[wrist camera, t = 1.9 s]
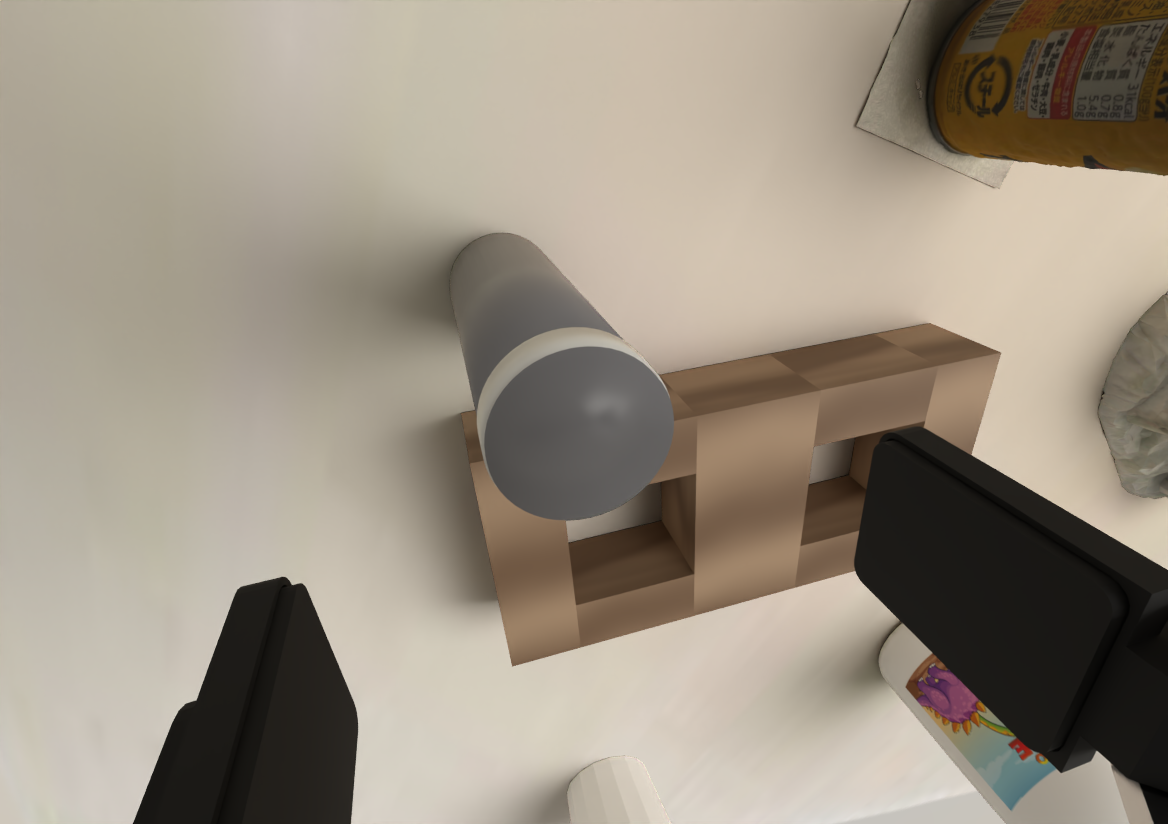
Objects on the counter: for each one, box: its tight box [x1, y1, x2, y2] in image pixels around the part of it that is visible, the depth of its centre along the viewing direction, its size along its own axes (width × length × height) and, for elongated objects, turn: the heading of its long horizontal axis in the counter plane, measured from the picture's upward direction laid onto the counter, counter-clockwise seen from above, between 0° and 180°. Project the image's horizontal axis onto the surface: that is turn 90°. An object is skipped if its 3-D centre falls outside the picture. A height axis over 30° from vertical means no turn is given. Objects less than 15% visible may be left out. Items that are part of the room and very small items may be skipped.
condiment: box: [857, 0, 1168, 189], centre depth 18 cm, size 7×8×12 cm
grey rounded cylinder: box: [449, 233, 674, 521], centre depth 17 cm, size 4×4×12 cm
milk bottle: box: [878, 623, 1129, 824], centre depth 33 cm, size 8×8×20 cm
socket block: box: [461, 323, 1001, 666], centre depth 27 cm, size 11×23×4 cm, turn 95°
